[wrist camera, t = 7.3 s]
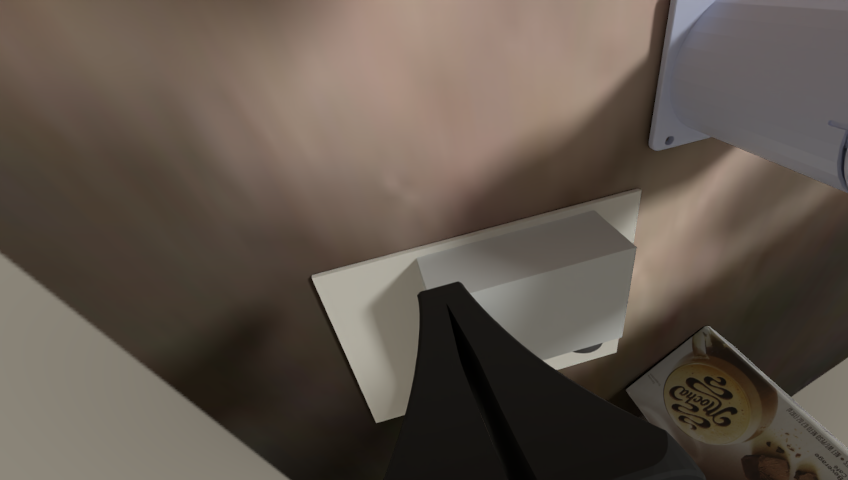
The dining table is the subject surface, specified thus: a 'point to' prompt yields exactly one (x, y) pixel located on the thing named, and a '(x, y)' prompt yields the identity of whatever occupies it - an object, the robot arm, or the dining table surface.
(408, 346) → the mat
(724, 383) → the coffee box
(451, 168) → the dining table surface
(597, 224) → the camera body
